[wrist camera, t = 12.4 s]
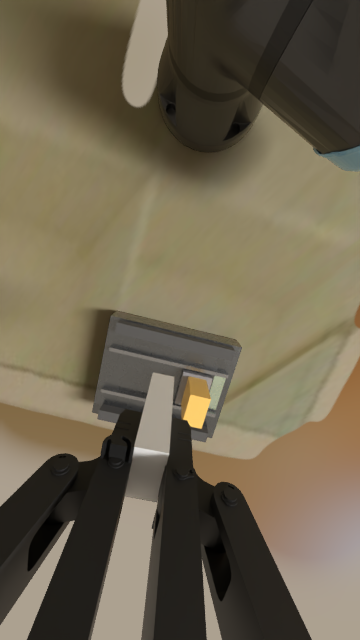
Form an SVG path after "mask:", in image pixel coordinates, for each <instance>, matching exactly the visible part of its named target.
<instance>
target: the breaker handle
mask: <svg viewBox="0 0 360 640" xmlns="http://www.w3.org/2000/svg"><path fill="white" fill-rule="evenodd" d="M212 380H213V377H212V376H210V375H206V374H201V373H197V372H193V371H189V370H184V369H183V373H182V376H181V380H180V384H179V387H178V391H177V394H176V398H175V404H178V405H181V415H182V419H183V420H187V421H188V423H189V425H190V426H191V427H195V428H200V429H202V426H203V423H204V420H205V417H206V413H207V410H208V407H209V404H210V401H211V397H210V393H209V390H210V387H211V383H212Z"/></svg>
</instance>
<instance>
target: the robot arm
mask: <svg viewBox="0 0 360 640" xmlns="http://www.w3.org/2000/svg"><path fill="white" fill-rule="evenodd" d="M166 5H167V26H168V37H167V40H166V43H165V46H164V49H163V52H162V55H161V59H160V63H159V68H158V77H157V88H158V97H159V105H160V109H161V113H162V116H163V118H164V121H165V123H166V125H167V126H168V128H169V130H170V131H171V132H172V134H173V135H174V136H175V137H176V138H177V139H178V140H179V141H180V142H182V143H183V144H184V145H186V146H188V147H190V148H192V149H194V150H198V151H202V152H216V151H221V150H224V149H226V148H229V147H231V146H232V145H234V144H236V143H237V142H238V141H239V140H241V139H242V138H243V137H244V136H245V135H246V133H247V132H248V131H249V130H250V128H251V127H252V125H253V123H254V121H255V120H256V118H257V116H258V114H259V112H260V110H261V107H262V105H263V104H264V105H265V106H266V107H267V108H268V109H269V110H271V111H272V112H273V113H274V114H275V115H276V116H278V117H279V118H280V119H281V120H282V121H283V122H285V123H286V124H287V125H288V126H289V127H291V128H292V129H293V130H294V131H295V132H296V133H298V134H299V135H300V136H301V137H302V138H303V139H305V140H306V141H307V142H308V143H309V144H310V145H312V146H313V150H314V151H315V153H316V154H318V155H319V156H322V157H326V158H327V159H328V160H330V161H331V162H332V163H334V164H335V165H336V166H338V167H339V168H341V169H343V170H346V171H360V0H166ZM173 390H174V377H173V376H168V375H163V374H159V373H154V372H153V374H152V378H151V382H150V386H149V390H148V394H147V398H146V402H145V405H144V409H143V412H138V411H133V410H128V409H125V410H124V411H123V412H122V413H121V414H120V415H119V418H118V420H117V423H116V425H115V428H114V430H113V433H112V435H110V436H108V437H107V438H106V439H105V440H104V441H103V444H102V450H101V456H100V457H98V458H96V459H94V460H91V461H84V462H78V460H77V458H76V457H75V456H73V455H71V454H66V453H65V454H58V455H55V456H53V457H51V458H50V459H48V460H47V461H46V462H45V463H44V464H43V465H42V466H41V467H40V468H39V469H38V470H37V471H36V472H35V473H34V474H33V475H32V476H31V477H30V478H29V479H28V480H27V481H26V482H25V483H24V484H23V485H22V486H21V487H20V488H19V489H18V490H17V491H16V492H15V493H14V494H13V495H12V496H11V497H10V498H9V499H8V500H7V501H6V502H5V503H4V504H3V505H2V506H1V507H0V625H1V623H2V622H3V620H4V619H5V617H6V616H7V614H8V613H9V611H10V610H11V608H12V607H13V605H14V604H15V602H16V601H17V599H18V598H19V596H20V595H21V594H22V592H23V590H24V589H25V587H26V586H27V585H28V583H29V582H30V580H31V579H32V577H33V576H34V574H35V573H36V571H37V570H38V568H39V567H40V565H41V564H42V562H43V561H44V559H45V558H46V556H47V555H48V553H49V552H50V551H51V549H52V548H53V546H54V545H55V543H56V542H57V540H58V539H59V537H60V536H61V534H62V533H63V531H64V530H65V528H66V527H67V525H68V524H69V522H70V521H73V520H75V522H74V524H73V527H72V529H71V532H70V534H69V537H68V539H67V542H66V544H65V547H64V549H63V552H62V554H61V557H60V559H59V562H58V564H57V566H56V569H55V571H54V574H53V576H52V579H51V581H50V584H49V586H48V589H47V591H46V594H45V596H44V599H43V601H42V604H41V606H40V609H39V611H38V614H37V616H36V619H35V621H34V624H33V626H32V629H31V631H30V633H29V636H28V639H27V640H91V636H92V632H93V628H94V623H95V620H96V615H97V611H98V607H99V602H100V598H101V594H102V590H103V586H104V581H105V577H106V573H107V569H108V565H109V561H110V556H111V552H112V548H113V543H114V539H115V535H116V531H117V527H118V523H119V518H120V514H121V509H122V505H123V500H124V496H126V497H131V498H136V499H142V500H147V501H153V502H157V500H158V504H157V509H156V513H155V517H154V521H153V525H152V529H153V537H152V546H151V556H150V565H149V574H148V583H147V592H146V602H145V611H144V620H143V629H142V638H141V640H207V639H206V622H205V605H204V589H203V574H202V573H203V572H202V560H203V564H204V568H205V572H206V576H207V580H208V584H209V588H210V592H211V596H212V600H213V604H214V608H215V612H216V616H217V620H218V624H219V629H220V632H221V637H222V640H312V639H311V637H310V635H309V633H308V631H307V629H306V627H305V624H304V622H303V620H302V618H301V616H300V614H299V612H298V610H297V608H296V605H295V603H294V601H293V599H292V597H291V595H290V593H289V591H288V589H287V586H286V585H285V582H284V580H283V578H282V576H281V574H280V572H279V570H278V568H277V565H276V563H275V561H274V559H273V557H272V555H271V553H270V551H269V548H268V546H267V544H266V542H265V540H264V538H263V536H262V534H261V532H260V530H259V528H258V525H257V523H256V521H255V519H254V517H253V515H252V513H251V511H250V508H249V506H248V504H247V502H246V500H245V498H244V496H243V494H242V493H241V491H240V490H239V489H238V488H237V487H236V486H234V485H233V484H230V483H228V482H220V483H218V484H217V485H216V486H215V487H214V486H212V485H210V484H208V483H207V482H205V481H203V480H202V479H201V478H200V477H199V476H198V475H197V474H196V472H195V469H194V468H193V460H192V442H191V441H192V440H191V427H190V425H189V423H188V421H187V420H183V419H177V418H172V405H173Z"/></svg>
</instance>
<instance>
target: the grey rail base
mask: <svg viewBox="0 0 360 640" xmlns="http://www.w3.org/2000/svg"><path fill="white" fill-rule="evenodd" d="M119 320H123V321H127V322H132V323H136V324H140V325H144V326H148V327H152V328H156V329H160V330H165V331H169V332H173V333H177V334H181V335H185V336H189V337H193V338H197V339H202V340H206V341H210V342H214V343H218V344H222V345H226V346H230V347H233V348H234V350H235V354H234V357H233V360H232V361H229V360H224V359H220V358H216V357H212V356H208V355H204V354H199V353H195V352H191V351H187V350H183V349H178V348H174V347H170V346H166V345H162V344H158V343H153V342H149V341H145V340H141V339H137V338H132V337H128V336H124V335H120V334H116V333H115V330H116V325H117V322H118V321H119ZM241 349H242V347H241V346H240V344H239V343H238V342H237V340H234V339H230V338H226V337H222V336H218V335H214V334H210V333H206V332H202V331H198V330H194V329H189V328H185V327H181V326H177V325H173V324H169V323H165V322H161V321H157V320H153V319H149V318H145V317H141V316H136V315H132V314H128V313H124V312H120V311H116V312H115V313H113V314H112V315H111V317H110V322H109V327H108V333H107V338H106V343H105V348H104V353H103V358H102V363H101V369H100V374H99V379H98V384H97V389H96V394H95V399H94V405H93V410H92V412H93V413H97V414H99V410H100V408H101V406H102V404H105V405H110V406H115V407H119V408H124V409H128V410H133V411H138V412H143V409H144V405H145V402H146V398H147V394H148V390H149V386H150V382H151V378H152V374H153V372H154V373H159V374H163V375H168V376H173V377H174V390H173V405H172V418H177V419H182V415H181V405H178V404H175V398H176V394H177V391H178V387H179V384H180V380H181V376H182V373H183V369H184V370H189V371H193V372H197V373H201V374H206V375H210V376H212V377H213V380H212V383H211V387H210V390H209V393H210V397H211V401H210V404H209V407H208V410H207V413H206V417H205V420H204V423H203V426H206V427H207V429H208V436H207V437H209V438H212V436H213V433H214V430H215V427H216V424H217V421H218V418H219V415H220V412H221V409H222V406H223V403H224V400H225V397H226V394H227V391H228V388H229V385H230V382H231V379H232V376H233V373H234V370H235V367H236V364H237V361H238V358H239V355H240V352H241Z"/></svg>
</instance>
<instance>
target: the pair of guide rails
mask: <svg viewBox="0 0 360 640" xmlns="http://www.w3.org/2000/svg"><path fill="white" fill-rule="evenodd" d="M115 333H116V334H120V335H124V336H128V337H132V338H137V339H141V340H145V341H149V342H153V343H158V344H162V345H166V346H170V347H174V348H178V349H183V350H187V351H191V352H195V353H199V354H204V355H208V356H212V357H216V358H220V359H224V360H229V361H232V360H233V357H234V354H235V350H234V348H233V347H230V346H226V345H222V344H218V343H214V342H210V341H206V340H202V339H197V338H193V337H189V336H185V335H181V334H177V333H173V332H169V331H165V330H160V329H156V328H152V327H148V326H144V325H140V324H136V323H132V322H127V321H123V320H119V321H118V322H117V325H116V330H115ZM124 410H125V409H124V408H119V407H115V406H110V405H105V404H102V406H101V408H100V410H99V414H98V419H99V420H104V421H108V422H113V423H117V420H118V418H119V415H120V414H121V413H122V412H123V411H124ZM190 427H191V426H190ZM207 436H208V429H207V427H206V426H202V429H200V428H195V427H191V439H192V440H197V441H202V442H206V439H207Z"/></svg>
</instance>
